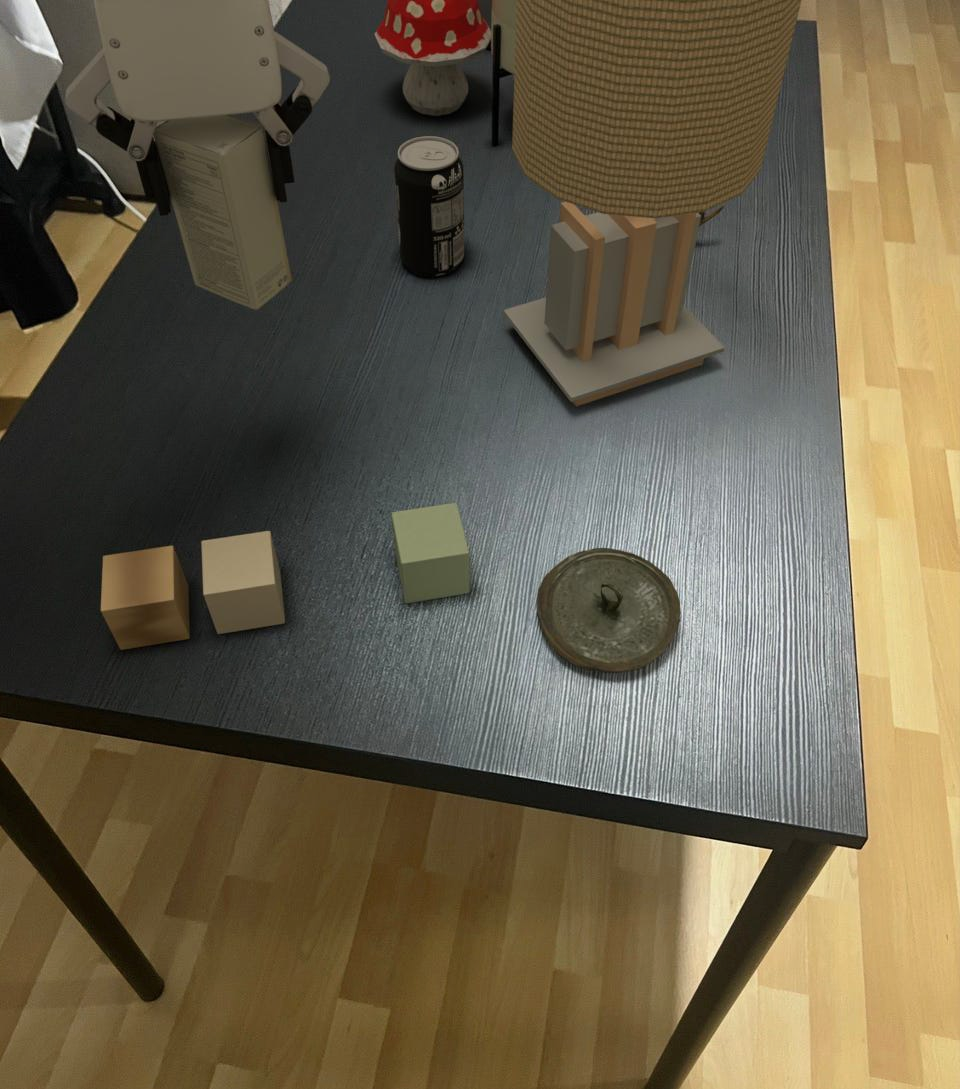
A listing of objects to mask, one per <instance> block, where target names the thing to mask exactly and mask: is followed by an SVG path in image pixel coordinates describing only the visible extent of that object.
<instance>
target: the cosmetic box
mask: <svg viewBox="0 0 960 1089" xmlns="http://www.w3.org/2000/svg"><path fill="white" fill-rule="evenodd" d="M153 138H154V141H155V142H156V146H157V148H158V152H159V156H160V160H161V164H162V167H163V171H164V175H165V178H166V182H167V185H168V189H169V193H170V201H171V203H172V207H173V211H174V215H175V218H176V222H177V225H178V228H179V232H180V236H181V239H182V243H183V247H184V250H185V255H186V258H187V261H188V264H189V269H190V272H191V275H192V279H193V283H194V285H195V286H196V287H199V288H202V289H203V290H205V291H208V292H211V293H212V294H214V295H217V296H220V297H222V298H224V299H227V300H229V301H232V302H233V303H237V304H239V305H241V306H244V307H247V308H249V309H252V310H255V311H257V310H259V309H260V308H261V307H263V306H264V305H265V304H266V303H267V302H269V301H270V300H272V299H273V298H274V297H275V296H276V295H277V294H279V293H280V292H281V291H282V290H283V289H285V288H286V286H287V285H288V284H290V283H292V274H291V268H290V262H289V257H288V251H287V246H286V242H285V237H284V230H283V224H282V220H281V214H280V209H279V203H278V201H277V200H276V194H275V188H274V182H273V177H272V170H271V164H270V158H269V152H268V146H267V140H266V134H265V128H264V127H263V125H262V124H261V123H260V124H259V123H257V122H254V121H251V120H248V119H246V118H241V117H239V116H236V115H234V114H233V115H223V116H213V117H203V118H193V119H182V120H171V121H162V123H159V125H156V128H155V131H154V134H153Z"/></svg>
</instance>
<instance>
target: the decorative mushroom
mask: <svg viewBox="0 0 960 1089" xmlns="http://www.w3.org/2000/svg"><path fill="white" fill-rule="evenodd" d="M374 36H375V39H376V41H377V43H378V45H379V48H380V50H381V52H382V54H384V55H386V56H388V57H390V58H392V59H394V60H395V61H398V62H400V63H403V64H407V65H409V66H408V70H407V71H406V74H405V75H404V78H403V81H402V82H403V83H402V93H403V96H404V98H405V100H406V101H407V103H408V105H409V106H410V108H412V110H414V111H416V112H417V113H420V114H422V115H427V116H433V117H434V116H435V117H438V116H443V115H444V116H445V115H450V114H452V113H453V112H456V111H457V110H459V109H460V108H461V106H462V105H463V103H464V102H465V100H466V98H467V96H468V94H469V83H468V79H467V77H466V75H465V74H464V71H463V69H462V67H461V65H460V64H464V63H466V62H468V61H469V60H472V59H474V58H477V57H478V56H480V55H483V54H484V53H485V52H486V50H487V49H488V48H487V46H488V44H489V42H490V40H491V30H490V28H489V27H488V25H487V23H486V22H485V20H484V19H483V18H482V14H481V11H480V7H479V4H478V1H477V0H387V2H386V8H385V12H384V16H383V20H382V21H381V23H380V25H379V26H378V28H377V29H376V31H375V32H374Z"/></svg>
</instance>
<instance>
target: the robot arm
mask: <svg viewBox="0 0 960 1089" xmlns="http://www.w3.org/2000/svg"><path fill="white" fill-rule="evenodd" d="M93 3H94V9H95V15H96V20H97V26H98V29H99V35H100V40H101V45H102V47H101V49H100V50H99V51H98V52H97V53H96V55H95V56H94V57H93V58H92V59H91V60H90V62H89V63H88V64H87V65H86V66H85V67H84V68H83V69H82V70H81V72H80V73H79V74H78V75H77V76H76V77H75V79H73V81H72V82H71V83H70V84H69V85H68V87H67V88H66V90H65V98H64V99H65V100H64V101H65V102H64V104H65V106H66V107H67V108H68V109H69V110H70V111H72V112H73V113H74V114H75V115H76V116H78V117H79V118H81V119H82V120H83V121H84V122H86V123H87V124H88V125H91V126H92V127H93V128H95V129H96V131H97V134H99V135H100V136H102V137H103V138H105V139H106V140H108V141H109V142H111V143H112V144H114V145H116V147H118V148H120V149H122V150H123V151H124V152H126V154H127V156H128V158H130V159H131V160H132V161H135V164H136V167H137V171H138V175H139V179H140V181H141V185H142V186H141V187H142V189H143V193H144V196H145V199H155V202H156V205H157V209H158V213H159V216H160V217H163V216H164V217H165V216H169V214H171V213H172V208H171V196H170V193H169V189H168V185H167V182H166V178H165V175H164V171H163V167H162V164H161V160H160V156H159V152H158V148H157V146H156V142H155V139H154V135H153V134H154V131H155V128H156V127H157V126H158V125H157V124H158V122H165V121H171V120H182V119H193V118H203V117H213V116H223V115H233V116H234V115H241V114H250V113H252V114H253V115H254V116H255V118H256V119H257V120H258V122H259V123H260V125H262V126H263V129H264V134H265V139H266V145H267V150H268V156H269V161H270V166H271V172H272V177H273V182H274V188H275V194H276V200H277V202H279V203H288V196H287V191H286V184H294V183H295V182H296V181H295V176H294V168H293V161H292V155H291V149H290V148H291V147H290V145H291V144H292V142H293V140H294V137H293V136H294V135H295V134H296V132H297V131H298V130H299V129H300V128H301V126H303V124H304V123H305V122H306V120H307V119H308V118H309V117H310V116H311V114H312V112H313V108H314V106H315V105H316V103H318V102H319V100H320V98H321V97H322V95H323V94H324V92H325V91H326V89H327V88H328V86H329V84H330V82H331V76H330V73H329V72H330V71H329V68H328V66H327V65H326V63H325V64H324V63H323V62H322V61H320V60H318V59H317V58H316V57H314V56H313V55H311V54H310V53H308V52H307V51H305V50H304V49H302V48H301V47H299V46H298V45H296V44H295V43H293V42H292V41H291V40H289V39H287V38H286V37H285V36H283V35H281V34H279V33H278V32H277V31H275V28H274V27H275V26H274V22H273V16H272V13H271V6H270V2H269V0H93ZM281 67H282V68H284V69H285V70H287V71H288V72H290V73H291V74H293V75H295V77H298V78H299V79H300V81H299V82H298V85H297V87H296V88H294V89H293V90H292V91H291V93H290V94H289V95H288V96H287V97H286V99H284V101H283V102H282V103H281V102H280V101H281V99H282V95H283V86H282V72H281ZM110 83H111V87H112V90H113V94H114V97H115V101H116V103H117V106H118V108H119V110H120V112H121V113H122V114H121V113H120V112H118V111H116V109H113V108H112V107H110V106H107V105H105V104H104V103H103V102H102V101H101V100H100V99H99V98H98V96H99V95H100V94H101V93H102V92H103V91H104V90H105V88H106V87H107V86H108V85H109V84H110Z"/></svg>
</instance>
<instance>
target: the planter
mask: <svg viewBox="0 0 960 1089" xmlns="http://www.w3.org/2000/svg"><path fill="white" fill-rule="evenodd" d="M516 8H517V0H492V22H491V49H490V50H491V51H490V52H491V55H492V71H491V72H492V76H491V77H492V82H491V83H492V85H491V142H490V144H491V145H492V147H497V146H499V134H500V133H499V132H500V131H499V130H500V129H499V128H500V79H502V78H505V77H508V76H512V75H514V74H515V41H516Z"/></svg>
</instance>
